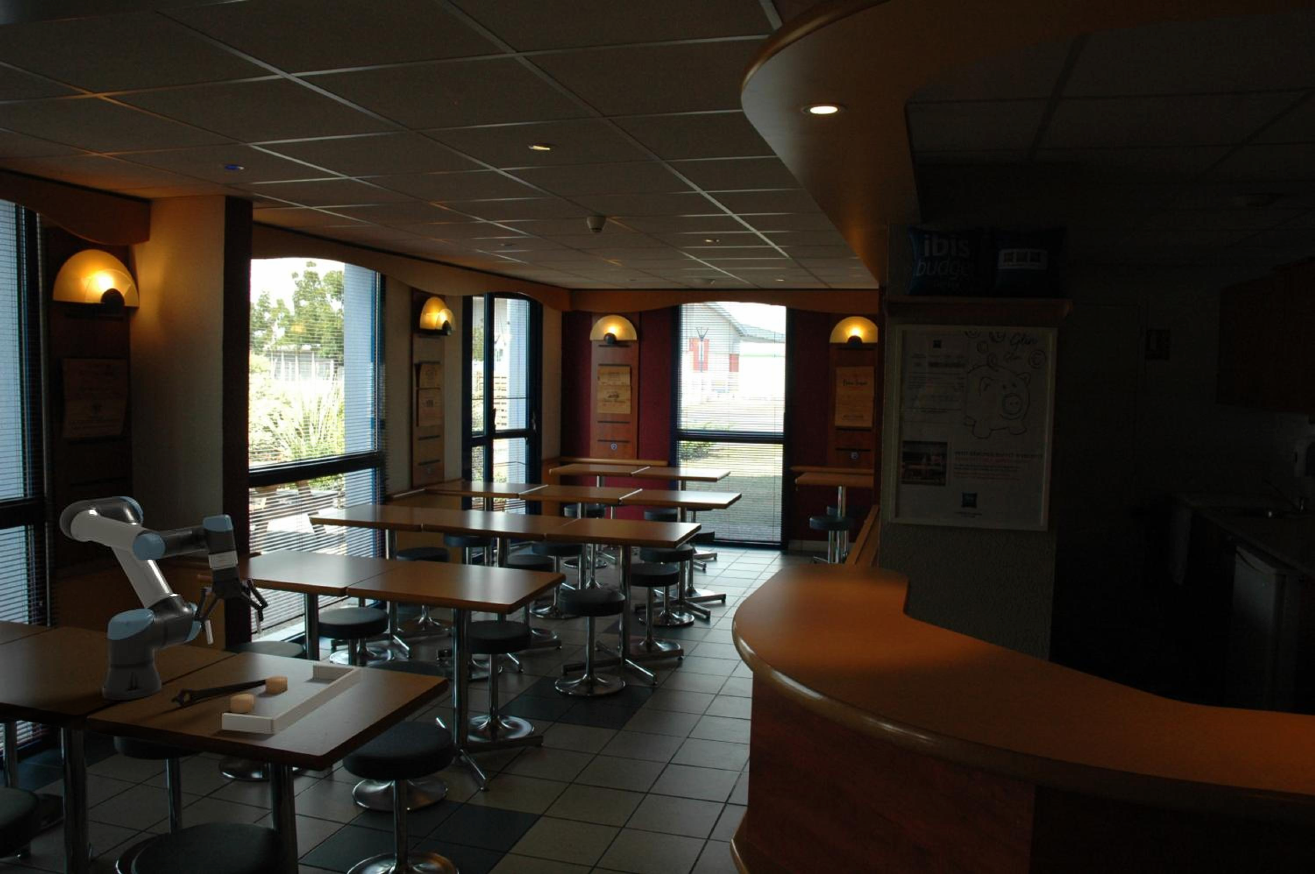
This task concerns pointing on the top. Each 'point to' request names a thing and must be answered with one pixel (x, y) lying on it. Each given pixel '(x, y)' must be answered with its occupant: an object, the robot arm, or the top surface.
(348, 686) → the chip tray
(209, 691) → the black hooked stick
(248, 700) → the puck
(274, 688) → the puck
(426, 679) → the top surface
